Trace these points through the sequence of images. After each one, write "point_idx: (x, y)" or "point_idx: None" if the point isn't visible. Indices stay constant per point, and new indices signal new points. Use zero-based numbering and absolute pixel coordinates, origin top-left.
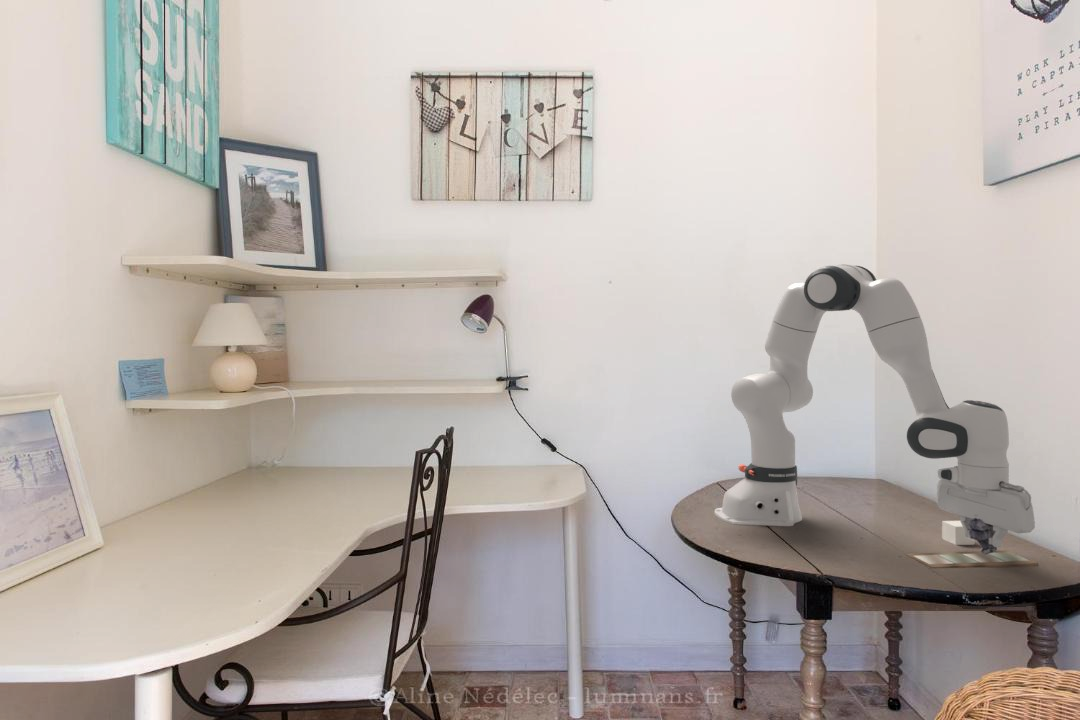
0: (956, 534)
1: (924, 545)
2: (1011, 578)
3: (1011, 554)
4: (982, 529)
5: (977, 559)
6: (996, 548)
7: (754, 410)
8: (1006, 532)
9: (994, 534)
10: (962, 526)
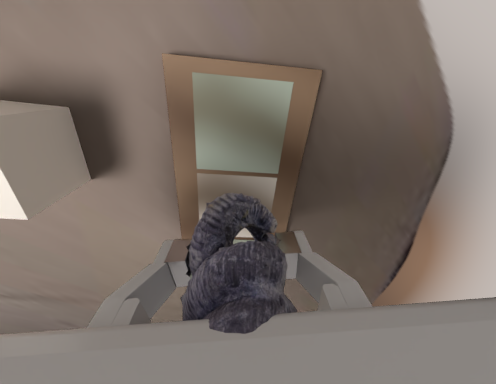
0: (58, 196)
1: (104, 252)
2: (351, 229)
3: (218, 88)
4: None
5: (246, 230)
6: (256, 201)
7: None
8: (350, 280)
9: (315, 297)
10: (12, 189)
